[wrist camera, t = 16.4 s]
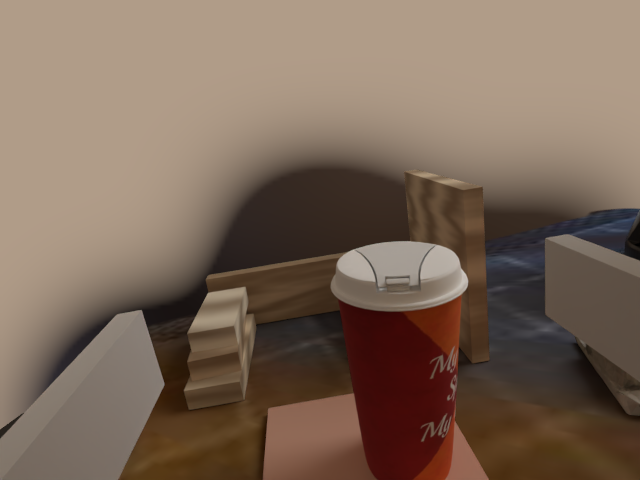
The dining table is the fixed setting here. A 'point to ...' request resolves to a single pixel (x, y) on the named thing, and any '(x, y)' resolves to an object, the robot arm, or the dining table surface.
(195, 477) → the dining table surface
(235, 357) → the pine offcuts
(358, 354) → the paper cup
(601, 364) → the packaged product
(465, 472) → the terracotta mat
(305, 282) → the oak rack
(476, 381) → the dining table surface
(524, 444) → the dining table surface
